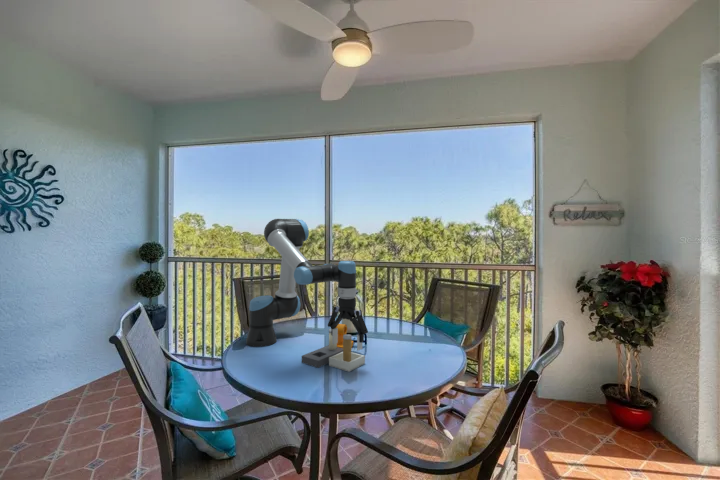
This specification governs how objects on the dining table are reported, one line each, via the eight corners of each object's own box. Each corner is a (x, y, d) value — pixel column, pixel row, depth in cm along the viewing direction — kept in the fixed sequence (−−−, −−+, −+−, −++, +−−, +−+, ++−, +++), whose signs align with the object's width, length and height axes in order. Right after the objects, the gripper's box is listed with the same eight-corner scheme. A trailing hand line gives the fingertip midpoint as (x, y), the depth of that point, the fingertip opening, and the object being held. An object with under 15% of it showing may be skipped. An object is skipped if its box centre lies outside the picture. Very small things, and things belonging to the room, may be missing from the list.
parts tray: (329, 365, 148) (329, 357, 148) (345, 358, 157) (345, 350, 157) (349, 371, 142) (349, 363, 142) (364, 363, 150) (364, 355, 150)
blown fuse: (341, 363, 149) (341, 335, 149) (346, 361, 152) (346, 333, 152) (347, 365, 147) (348, 337, 147) (352, 363, 150) (353, 335, 149)
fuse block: (318, 367, 146) (318, 339, 145) (301, 362, 152) (301, 335, 151) (345, 355, 160) (345, 329, 160) (329, 351, 166) (329, 326, 166)
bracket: (345, 353, 164) (345, 328, 163) (331, 351, 166) (331, 326, 166) (354, 346, 174) (354, 322, 174) (340, 344, 176) (340, 321, 176)
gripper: (319, 295, 153) (319, 343, 154) (365, 302, 138) (365, 355, 139) (331, 292, 159) (331, 338, 160) (376, 299, 144) (376, 349, 145)
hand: (347, 346), depth 149 cm, fingers open, 13 cm apart
